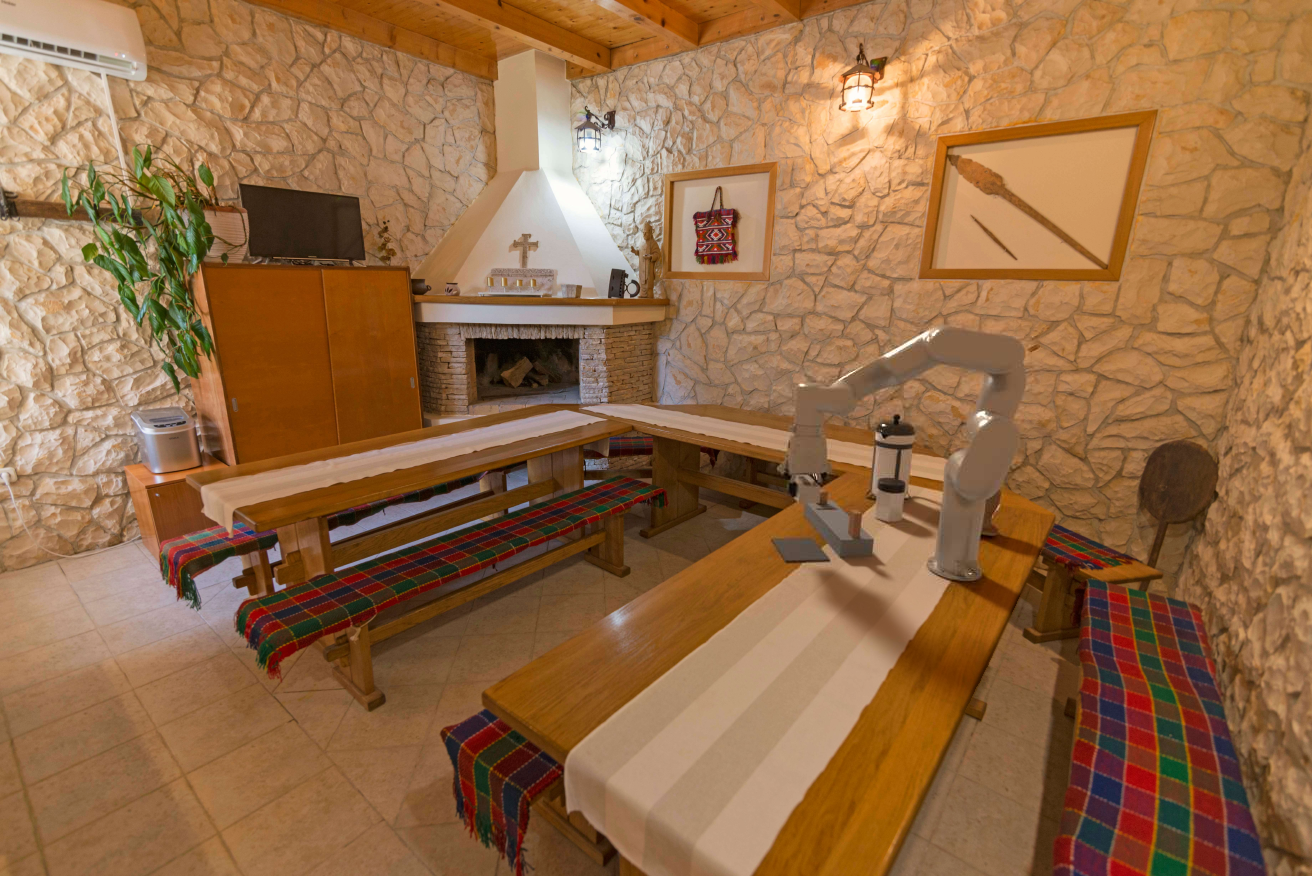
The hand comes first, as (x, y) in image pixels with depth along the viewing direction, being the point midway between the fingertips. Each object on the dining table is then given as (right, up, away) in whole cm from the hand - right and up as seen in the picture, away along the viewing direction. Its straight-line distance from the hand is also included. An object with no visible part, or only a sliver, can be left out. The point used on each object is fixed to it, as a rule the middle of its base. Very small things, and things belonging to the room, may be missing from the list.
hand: (803, 494), depth 152 cm
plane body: (+13, -13, +15) cm, 24 cm away
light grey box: (0, 0, 0) cm, 0 cm away
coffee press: (+42, -6, +46) cm, 62 cm away
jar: (+34, -10, +28) cm, 45 cm away
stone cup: (+55, -13, +19) cm, 59 cm away
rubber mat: (0, -16, +4) cm, 16 cm away
